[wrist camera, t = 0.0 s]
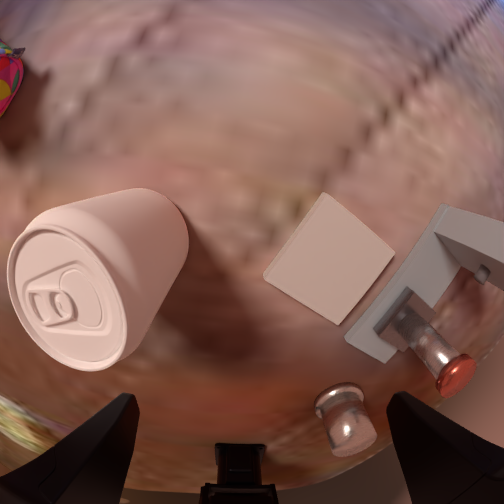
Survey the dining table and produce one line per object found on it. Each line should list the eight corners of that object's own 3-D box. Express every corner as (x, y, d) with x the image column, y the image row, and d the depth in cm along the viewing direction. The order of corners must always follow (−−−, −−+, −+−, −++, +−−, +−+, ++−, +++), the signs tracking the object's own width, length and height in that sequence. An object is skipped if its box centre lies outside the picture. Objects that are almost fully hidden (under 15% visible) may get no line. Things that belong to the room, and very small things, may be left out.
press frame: (381, 358, 25) (427, 430, 15) (255, 283, 22) (267, 376, 12) (468, 240, 22) (543, 276, 11) (369, 125, 19) (462, 103, 8)
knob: (352, 411, 28) (369, 452, 21) (309, 416, 28) (321, 462, 21) (367, 379, 26) (389, 423, 20) (319, 384, 26) (336, 433, 19)
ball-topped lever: (397, 344, 23) (445, 409, 14) (372, 328, 23) (423, 400, 13) (428, 306, 22) (488, 361, 13) (406, 285, 21) (474, 343, 12)
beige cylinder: (201, 275, 22) (166, 378, 10) (116, 290, 22) (44, 375, 10) (178, 176, 19) (100, 187, 8) (90, 201, 20) (-15, 237, 8)
